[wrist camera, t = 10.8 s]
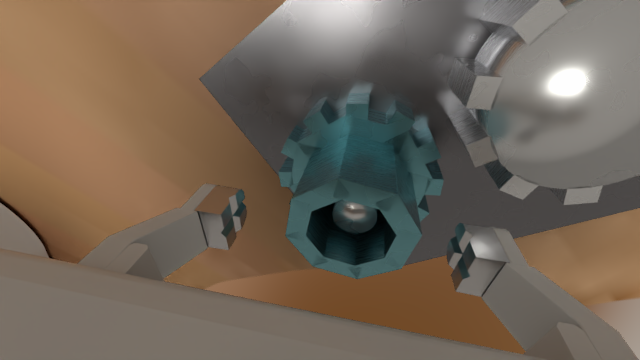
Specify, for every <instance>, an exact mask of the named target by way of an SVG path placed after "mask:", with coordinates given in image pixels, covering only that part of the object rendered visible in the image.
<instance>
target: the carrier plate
mask: <svg viewBox="0 0 640 360" xmlns="http://www.w3.org/2000/svg"><path fill="white" fill-rule="evenodd" d="M200 81H201V82H202V83H203V84H204V86H205V87H206V88H207V89H208V90H209V92H210V93H211V94H212V95H213V97H214V98H215V99H216V100H217V101H218V103H219V104H220V105H221V106H222V108H223V109H224V110H225V111H226V112H227V114H228V115H229V116H230V117H231V119H232V120H233V121H234V122H235V123H236V125H237V126H238V127H239V128H240V130H241V131H242V132H243V133H244V134H245V136H246V137H247V138H248V139H249V141H250V142H251V143H252V144H253V145H254V147H255V148H256V149H257V150H258V152H259V153H260V154H261V155H262V156H263V158H264V159H265V160H266V161H267V163H268V164H269V165H270V166H271V167H272V169H273V170H274V171H275V172H276V174H277V175H278V176H279V170H280V168H281V167H282V165H283V163H284V162H285V160H286V158H290V157H288V156H286V155H285V154H283V153H281V151H282V149H283V147H284V145H285V142H286V140H287V138H288V137H289V135H290V134H291V132H292V131H293V129H294V128H295V126H296V125H297V126H299V127H300V128H302V129H306V128H307V126H306V125H305V123H304V122H303V120H304V119H305V117H306V116H307V114H308V112H309V111H310V109H312V108H314V107H315V106H317V105H318V104H320V103H322V102H323V101H325V100H326V101H327V103H328V104H329V106H330V108H331V109H332V111H333V112H336V111H337V110H339V109H341V108H343V107H344V106H346V102H347V99H348V96H349V93H370V99H369V109H373V110H377V111H381V112H384V113H386V112H387V110H388V109H389V107H390V106H391V104H392V103H393V101H394V100H397V101H398V102H400V103H402V104H404V105H405V106H407V107H409V108H410V109H412V112H413V115H414V119H415V123H414V124H413V126H412V127H411V130H412V132H413V133H415V132H418V131H420V130H422V129H424V128H426V127H429V129H430V132H431V134H432V136H433V138H434V140H435V142H436V145H437V147H438V150H439V153H440V155H441V158H439V159H437V160H434V161H432V162H429V163H438V164H439V167H440V170H441V173H442V176H443V178H444V181H443V186H442V190H441V194H440V196H438V195H426V200H427V204H428V209H429V214H428V215H427V216H426V217H425V218H424V219H423V220H422V221H421V222H420V225H421V231H422V236H421V238H420V240H419V241H418V243H417V244H416V246H415V248H414V249H413V251H412V252H411V254H410V256H409V257H408V259H407V260H406V262H405V264H404V265H407V264H412V263H416V262H420V261H424V260H428V259H432V258H437V257H441V256H445V255H447V246H448V243H449V241H450V239H451V238H453V237H455V236H456V234H455V228H456V226H457V225H458V224H459V223H466V224H473V225H479V226H486V227H496V228H504V229H507V230H508V231H509V232H510V234H511V236H512V238H513V239H514V238H518V237H522V236H527V235H531V234H535V233H539V232H543V231H547V230H551V229H555V228H559V227H563V226H567V225H571V224H576V223H580V222H584V221H588V220H592V219H596V218H600V217H604V216H608V215H612V214H616V213H620V212H625V211H629V210H633V209H637V208H640V0H287V1H285V2H284V3H283V4H282V5H281V6H280V7H279V8H278V9H276V10H275V11H274V12H273V13H272V14H271V15H270V16H269V17H268V18H266V19H265V20H264V21H263V22H262V23H261V24H260V25H259V26H258V27H256V28H255V29H254V30H253V31H252V32H251V33H250V34H249V35H248V36H246V37H245V38H244V39H243V40H242V41H241V42H240V43H239V44H238V45H236V46H235V47H234V48H233V49H232V50H231V51H230V52H229V53H227V54H226V55H225V56H224V57H223V58H222V59H221V60H220V61H219V62H217V63H216V64H215V65H214V66H213V67H212V68H211V69H210V70H209V71H207V72H206V73H205V74H204V75H203V76H202V77H201V78H200ZM288 188H289V189H290V191H291V192H292V193H293V194H294V192H293V191H292V189H291V188H290V187H288ZM332 216H333V220H334V222H335V223H336V224H337V226H339V227H340V228H341V229H343V230H345V231H348V232H351V233H362V232H366V231H368V230H370V229H371V228H372V227H373V226H374V225H375V224H376V221H377V209H376V208H372V207H369V206H365V205H361V204H358V203H354V202H350V201H347V200H343V199H342V200H339V201H337V202H335V204H334V209H333V213H332ZM404 265H403V266H404Z"/></svg>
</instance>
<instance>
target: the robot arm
mask: <svg viewBox="0 0 640 360" xmlns="http://www.w3.org/2000/svg"><path fill="white" fill-rule="evenodd" d="M244 198H245V196H244V191H243V190H242V189H237V188H232V187H226V186H220V185H213V184H208V183H206V184H203V185H202V186H201V187H200V188H199V189H198V190H197V191H196V192H195V193H194V194H193V196H192V197H191V198H190V199H189V200H188V201H187V202H186V203H185V204H184V205H183V206H182V207H181V208H175V209H173V210H170V211H168V212H166V213H163V214H161V215H158V216H156V217H154V218H151V219H149V220H146V221H144V222H142V223H139V224H137V225H134V226H132V227H130V228H127V229H125V230H122V231H120V232H118V233H115V234H113V235H110V236H108V237H107V238H106V239H105V240H104V241H102V242H101V243H100V244H99V245H98V246H97V247H96V248H94V249H93V250H92V251H91V252H90V253H89V254H88V255H86V256H85V257H84V258H83V259H82V260H81V261H80V262H79V263H77V264H76V263H71V262H66V261H61V260H56V259H51V258H49V256H48V254H47V252H46V250H45V248H44V246H43V244H42V242H41V241H40V240H39V238H38V237H37V236H36V234H35V233H34V232H33V231H32V230H31V229H30V228H29V227H28V226H27V225H26V224H25V223H24V222H23V221H22V220H21V219H20V218H19V217H18V216H16V215H15V214H14V213H13V212H12V211H10V210H9V209H8V208H6V207H5V206H4V205H3V204H1V203H0V360H638V358H637V357H636V355H635V354H634V353H633V351H632V350H631V348H630V347H629V346H628V344H627V343H626V342H625V340H624V339H623V338H622V336H621V334H620V333H619V332H618V331H617V330H615V329H614V328H613V327H611V326H610V325H609V324H607V323H606V322H605V321H604V320H602V319H601V318H600V317H598V316H597V315H596V314H594V313H593V312H592V311H590V310H589V309H588V308H586V307H585V306H584V305H583V304H581V303H580V302H579V301H577V300H576V299H575V298H573V297H572V296H571V295H570V294H568V293H567V292H566V291H564V290H563V289H562V288H560V287H559V286H558V285H556V284H555V283H554V282H553V281H551V280H550V279H549V278H547V277H546V276H545V275H543V274H542V273H541V272H539V271H538V270H537V269H535V268H534V267H529V266H528V264H527V262H526V260H525V259H524V257H523V255H522V253H521V252H520V250H519V248H518V246H517V245H516V243H515V241H514V239H513V238H512V236H511V234H510V232H509V231H508V230H507V229H504V228H496V227H486V226H479V225H473V224H466V223H459V224H458V225H457V226H456V228H455V234H456V236H455V237H453V238H451V239H450V241H449V243H448V246H447V260H448V264H449V265H450V266H451V267H452V268H453V269H454V271H453V273H452V274H451V276H452V280H453V283H454V287H455V290H456V292H461V293H466V294H470V295H475V296H480V297H482V299H483V300H484V301H485V303H486V304H487V305H488V307H489V308H490V309H491V310H492V311H493V312H494V314H495V315H496V316H497V317H498V319H499V320H500V321H501V322H502V323H503V325H504V326H505V327H506V328H507V329H508V331H509V332H510V333H511V334H512V335H513V337H514V338H515V339H516V340H517V341H518V342H519V344H520V345H521V346H522V347H523V349H524V350H525V351H526V352H525V353H524V354H518V353H513V352H508V351H503V350H498V349H493V348H488V347H483V346H479V345H474V344H469V343H464V342H459V341H454V340H449V339H444V338H439V337H434V336H429V335H424V334H419V333H414V332H409V331H404V330H400V329H395V328H390V327H385V326H380V325H374V324H370V323H365V322H360V321H355V320H350V319H345V318H340V317H336V316H330V315H325V314H321V313H316V312H310V311H306V310H301V309H296V308H292V307H287V306H281V305H277V304H272V303H267V302H262V301H257V300H252V299H247V298H243V297H238V296H233V295H228V294H223V293H218V292H213V291H208V290H203V289H198V288H193V287H189V286H184V285H179V284H174V283H169V282H165V281H164V278H165V277H166V276H168V275H169V274H171V273H172V272H174V271H175V270H177V269H178V268H180V267H181V266H182V265H184V264H185V263H187V262H188V261H190V260H191V259H193V258H194V257H195V256H197V255H198V254H200V253H201V252H203V251H204V250H206V249H207V248H208V247H212V248H219V249H225V250H229V249H230V247H231V245H232V244H233V242H234V240H235V239H236V232H237V231H239V230H240V229H242V227H243V225H244V223H245V220H246V214H247V210H246V206H245V205H244V203H243V202H242V201H243V200H244Z"/></svg>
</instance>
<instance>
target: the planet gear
mask: <svg viewBox="0 0 640 360" xmlns="http://www.w3.org/2000/svg"><path fill="white" fill-rule="evenodd" d="M369 99H370V93H349V96H348V99H347V102H346V106H344V107H343V108H341V109H339V110H337V111H336V112H333V111H332V109H331V108H330V106H329V104H328V103H327V101H326V100H325V101H323V102H322V103H320V104H318V105H317V106H315V107H314V108H312V109H310V111H309V112H308V114H307V116H306V117H305V119H304V120H303V122H304V123H305V125H306V126H307V128H306V129H302V128H300V127H299V126H297V125H296V126H295V128H294V129H293V131H292V132H291V134H290V135H289V137H288V138H287V140H286V142H285V145H284V147H283V149H282V151H281V153H283V154H285V155H286V156H288V157H290V158H286V160H285V162H284V163H283V165H282V167H281V168H280V170H279V178H280V183H281V187H290V188H291V189H292V191H293V192H294V194H293V196H292V199H291V201H290V203H289V204H290V205H291V206H290V211H289V217H288V223H287V229H286V235H285V236H286V237H287V238H288V239H289V240H290V242H291V243H292V244H293V245H294V246H295V247H296V248H297V249H298V250H299V252H300V253H301V254H302V255H303V256H304V257H305V258H306V259H307V260H308V262H309V263H310V264H311V265H312V266H314V267H317V268H320V269H324V270H327V271H331V272H334V273H338V274H342V275H345V276H348V277H352V278H355V279H360V278H364V277H368V276H372V275H377V274H381V273H385V272H390V271H394V270H398V269H401V268H402V267H403V265H404V264H405V262H406V260H407V259H408V257H409V256H410V254H411V252H412V251H413V249H414V248H415V246H416V244H417V243H418V241H419V240H420V238H421V236H422V231H421V225H420V222H421V221H422V220H423V219H424V218H425V217H426V216H427V215H428V214H429V209H428V204H427V200H426V195H438V196H440V194H441V190H442V186H443V181H444V178H443V176H442V173H441V170H440V167H439V164H438V163H429V162H432V161H434V160H437V159H439V158H441V155H440V153H439V150H438V147H437V145H436V142H435V140H434V138H433V136H432V134H431V132H430V129H429V127H426V128H424V129H422V130H420V131H418V132H415V133H413V132H412V130H411V127H412V126H413V124H414V123H415V119H414V115H413V112H412V109H410V108H409V107H407V106H405V105H404V104H402V103H400V102H398V101H397V100H394V101H393V103H392V104H391V106H390V107H389V109H388V110H387V112H386V113H384V112H381V111H377V110H373V109H369ZM342 199H343V200H347V201H350V202H354V203H358V204H361V205H365V206H369V207H372V208H376V209H377V221H376V224H375V225H374V226H373V227H372V228H371V229H370V230H368V231H366V232H362V233H351V232H348V231H345V230H343V229H341V228H340V227H339V226H337V224H336V223H335V222H334V220H333V216H332V213H333V209H334V204H335V202H337V201H339V200H342Z"/></svg>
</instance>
